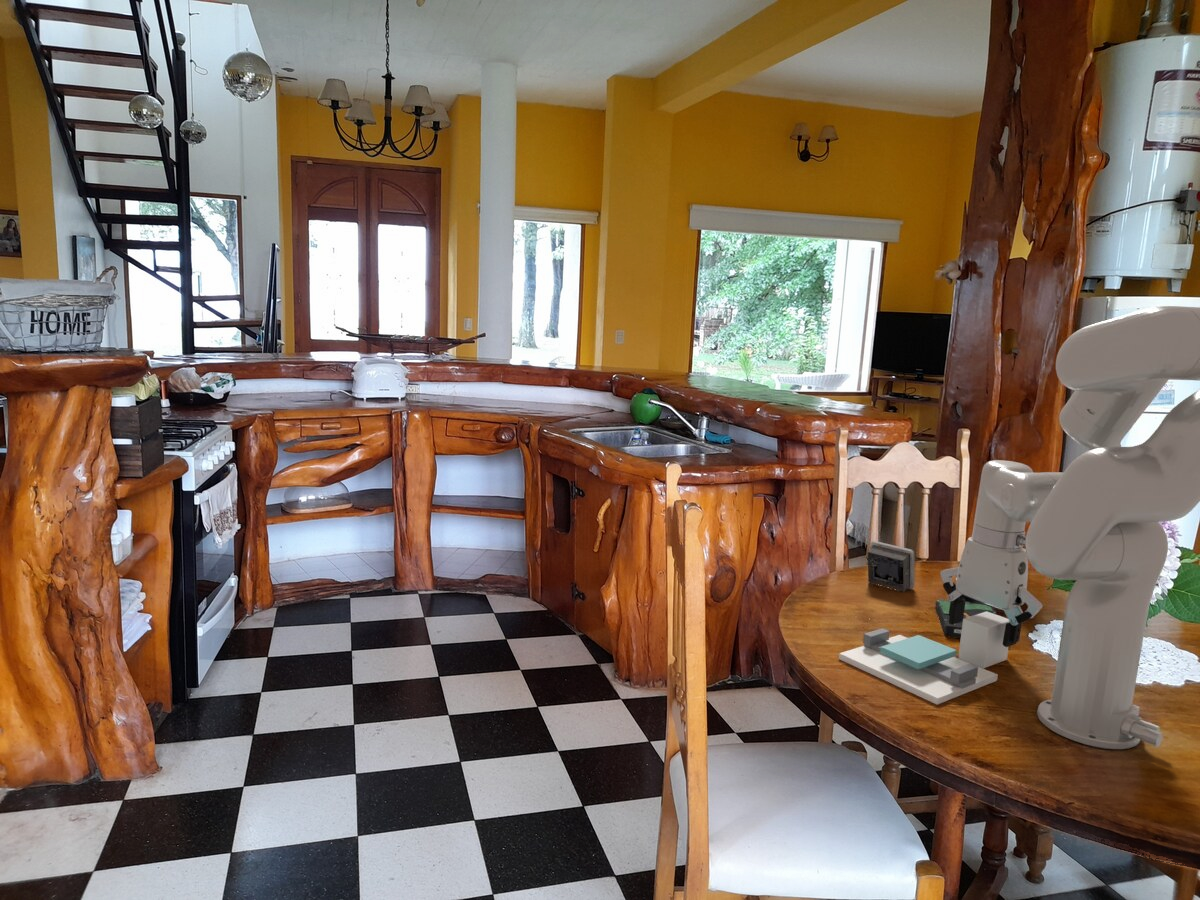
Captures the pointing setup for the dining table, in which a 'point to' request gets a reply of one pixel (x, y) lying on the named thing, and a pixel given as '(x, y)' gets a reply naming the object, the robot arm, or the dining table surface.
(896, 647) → the plate
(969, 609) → the disk drive
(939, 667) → the rail panel
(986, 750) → the dining table surface
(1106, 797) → the dining table surface
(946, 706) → the dining table surface
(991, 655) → the block
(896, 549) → the electrical switch
